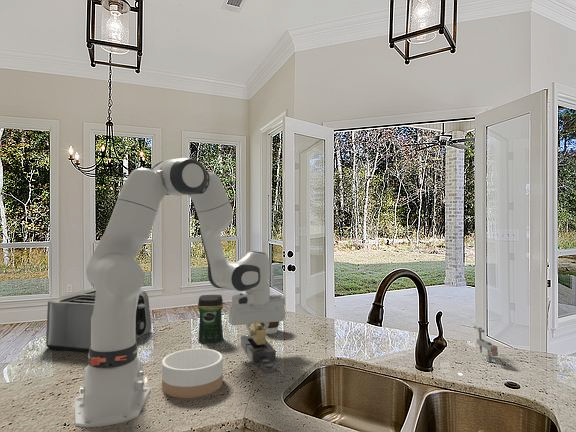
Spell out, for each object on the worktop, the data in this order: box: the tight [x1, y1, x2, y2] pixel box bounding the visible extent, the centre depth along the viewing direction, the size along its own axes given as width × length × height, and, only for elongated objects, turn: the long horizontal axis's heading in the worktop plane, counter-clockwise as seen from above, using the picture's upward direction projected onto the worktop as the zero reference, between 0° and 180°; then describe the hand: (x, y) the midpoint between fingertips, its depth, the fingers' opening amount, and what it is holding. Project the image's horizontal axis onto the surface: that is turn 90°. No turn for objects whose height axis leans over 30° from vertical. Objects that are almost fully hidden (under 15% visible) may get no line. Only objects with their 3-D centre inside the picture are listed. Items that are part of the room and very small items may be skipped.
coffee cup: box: [260, 321, 280, 335], centre depth 163 cm, size 11×11×12 cm
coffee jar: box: [197, 294, 224, 344], centre depth 152 cm, size 10×8×19 cm
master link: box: [249, 323, 267, 345], centre depth 138 cm, size 11×3×6 cm, turn 19°
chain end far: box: [240, 333, 269, 354], centre depth 147 cm, size 17×8×4 cm, turn 19°
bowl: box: [161, 347, 224, 399], centre depth 112 cm, size 17×17×8 cm
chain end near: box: [246, 342, 278, 374], centre depth 129 cm, size 17×8×4 cm, turn 19°
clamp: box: [473, 325, 499, 363], centre depth 136 cm, size 15×2×10 cm, turn 177°
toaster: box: [45, 287, 152, 353], centre depth 151 cm, size 29×32×19 cm
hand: (257, 335), depth 138 cm, fingers closed on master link, 3 cm apart
